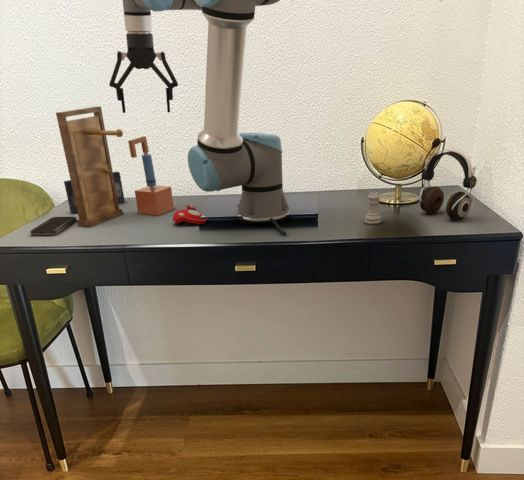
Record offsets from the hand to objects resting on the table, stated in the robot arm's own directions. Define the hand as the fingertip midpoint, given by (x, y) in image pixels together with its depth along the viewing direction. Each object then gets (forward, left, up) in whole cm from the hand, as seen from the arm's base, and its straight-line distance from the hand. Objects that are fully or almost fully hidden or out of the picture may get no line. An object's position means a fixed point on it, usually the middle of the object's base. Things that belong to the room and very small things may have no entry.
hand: (146, 111), depth 166 cm
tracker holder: (-28, -7, -28) cm, 40 cm away
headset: (-55, -73, -28) cm, 95 cm away
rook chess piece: (-52, -53, -28) cm, 79 cm away
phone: (-17, +33, -28) cm, 46 cm away
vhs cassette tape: (+2, +20, -28) cm, 34 cm away
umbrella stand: (-12, +2, -28) cm, 30 cm away
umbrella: (-14, +4, -28) cm, 31 cm away
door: (-18, +15, -28) cm, 37 cm away
